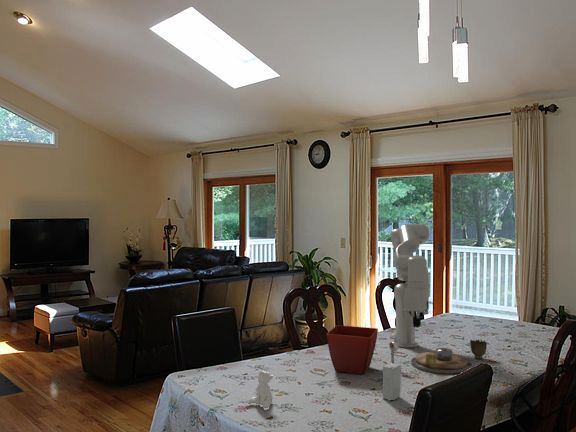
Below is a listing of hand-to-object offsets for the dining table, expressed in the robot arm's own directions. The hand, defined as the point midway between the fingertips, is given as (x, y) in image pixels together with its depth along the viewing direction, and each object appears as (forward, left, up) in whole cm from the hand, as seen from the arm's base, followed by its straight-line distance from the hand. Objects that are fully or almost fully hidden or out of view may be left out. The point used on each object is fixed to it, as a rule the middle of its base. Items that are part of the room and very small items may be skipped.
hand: (416, 326), depth 230 cm
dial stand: (-7, -8, -18) cm, 21 cm away
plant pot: (-19, -21, -18) cm, 34 cm away
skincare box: (+12, -41, -18) cm, 47 cm away
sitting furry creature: (-19, -77, -18) cm, 82 cm away
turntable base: (+7, +10, -18) cm, 21 cm away
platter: (+7, +9, -16) cm, 20 cm away
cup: (+15, +32, -18) cm, 39 cm away
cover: (+8, +9, -15) cm, 19 cm away
